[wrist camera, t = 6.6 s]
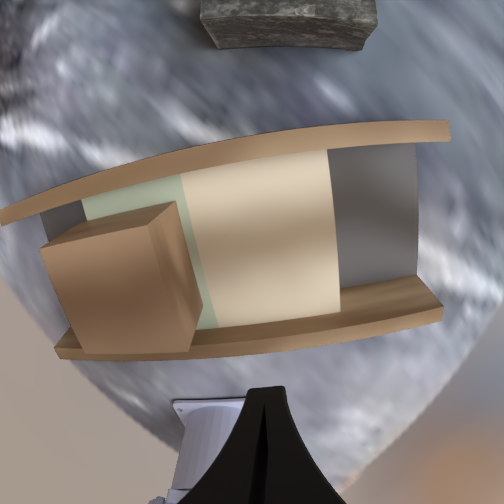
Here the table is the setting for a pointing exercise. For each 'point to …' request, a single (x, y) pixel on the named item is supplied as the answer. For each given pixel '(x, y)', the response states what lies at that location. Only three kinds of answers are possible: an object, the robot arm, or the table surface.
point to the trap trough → (276, 233)
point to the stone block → (289, 23)
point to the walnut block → (127, 282)
